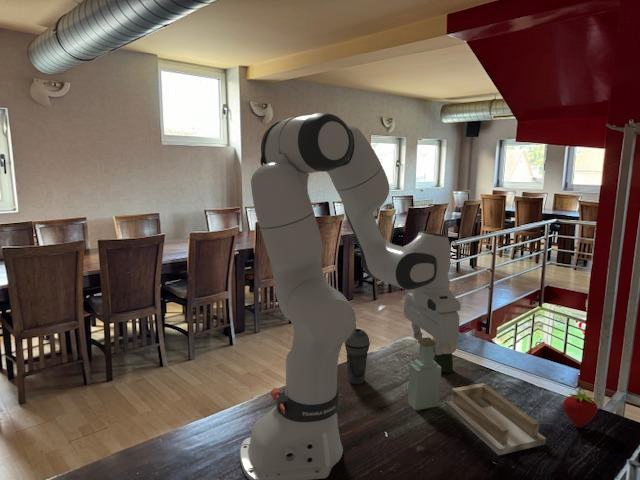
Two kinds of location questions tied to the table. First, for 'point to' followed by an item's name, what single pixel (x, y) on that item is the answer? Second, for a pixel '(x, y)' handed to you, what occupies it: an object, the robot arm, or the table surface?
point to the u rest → (494, 419)
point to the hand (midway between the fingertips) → (427, 346)
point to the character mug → (445, 357)
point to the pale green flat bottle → (424, 378)
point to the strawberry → (580, 409)
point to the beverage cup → (357, 355)
